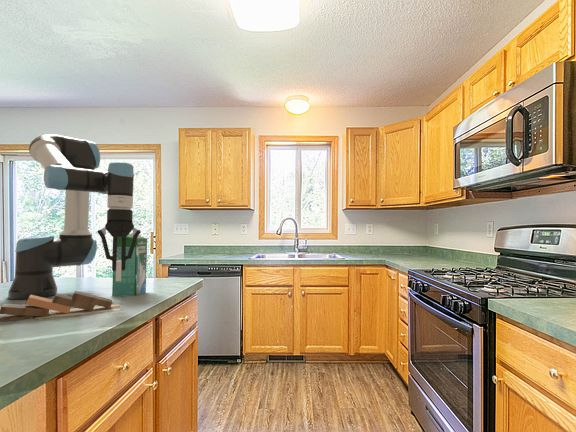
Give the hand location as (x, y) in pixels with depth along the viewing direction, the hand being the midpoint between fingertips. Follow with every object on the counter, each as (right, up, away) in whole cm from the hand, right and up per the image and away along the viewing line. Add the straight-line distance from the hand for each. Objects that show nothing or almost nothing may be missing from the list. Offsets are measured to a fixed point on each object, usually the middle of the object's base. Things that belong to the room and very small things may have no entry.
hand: (118, 280), depth 106 cm
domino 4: (-2, -8, -1) cm, 8 cm away
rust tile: (-11, -7, -7) cm, 15 cm away
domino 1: (-19, -9, -11) cm, 23 cm away
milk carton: (-7, -11, +22) cm, 25 cm away
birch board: (-9, -10, -5) cm, 14 cm away
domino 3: (-6, -8, -3) cm, 10 cm away
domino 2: (-16, -7, -10) cm, 20 cm away
